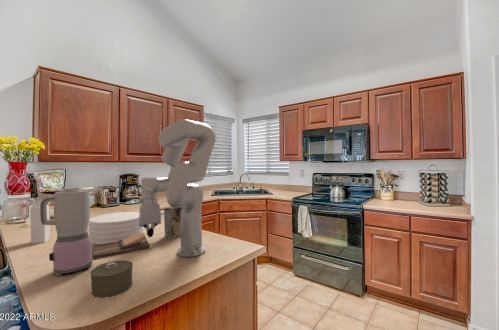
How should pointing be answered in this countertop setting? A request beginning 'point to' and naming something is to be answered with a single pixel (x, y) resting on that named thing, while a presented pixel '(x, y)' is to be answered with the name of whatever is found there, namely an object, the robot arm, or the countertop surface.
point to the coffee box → (172, 221)
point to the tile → (133, 239)
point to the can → (111, 278)
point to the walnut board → (118, 248)
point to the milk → (38, 224)
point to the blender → (70, 230)
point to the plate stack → (114, 227)
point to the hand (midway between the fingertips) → (150, 236)
